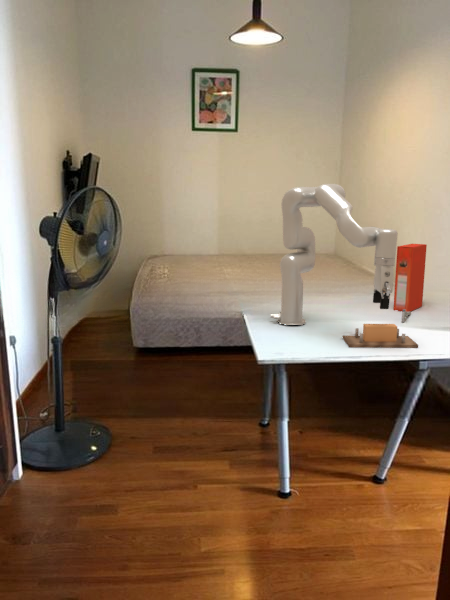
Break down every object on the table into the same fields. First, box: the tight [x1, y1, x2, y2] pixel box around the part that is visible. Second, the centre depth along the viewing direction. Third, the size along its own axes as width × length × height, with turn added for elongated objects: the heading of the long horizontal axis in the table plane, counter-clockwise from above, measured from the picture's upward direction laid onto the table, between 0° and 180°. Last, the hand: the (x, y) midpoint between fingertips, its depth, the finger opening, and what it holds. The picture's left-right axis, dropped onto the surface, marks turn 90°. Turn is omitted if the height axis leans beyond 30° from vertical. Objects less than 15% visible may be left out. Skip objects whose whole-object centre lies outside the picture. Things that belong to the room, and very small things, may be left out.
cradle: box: [342, 328, 419, 349], centre depth 196 cm, size 26×12×5 cm, turn 89°
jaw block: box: [362, 323, 398, 342], centre depth 196 cm, size 4×12×6 cm, turn 88°
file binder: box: [393, 243, 428, 313], centre depth 251 cm, size 8×17×32 cm, turn 138°
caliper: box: [400, 309, 412, 324], centre depth 235 cm, size 20×1×6 cm, turn 151°
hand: (380, 305), depth 194 cm, fingers open, 9 cm apart
